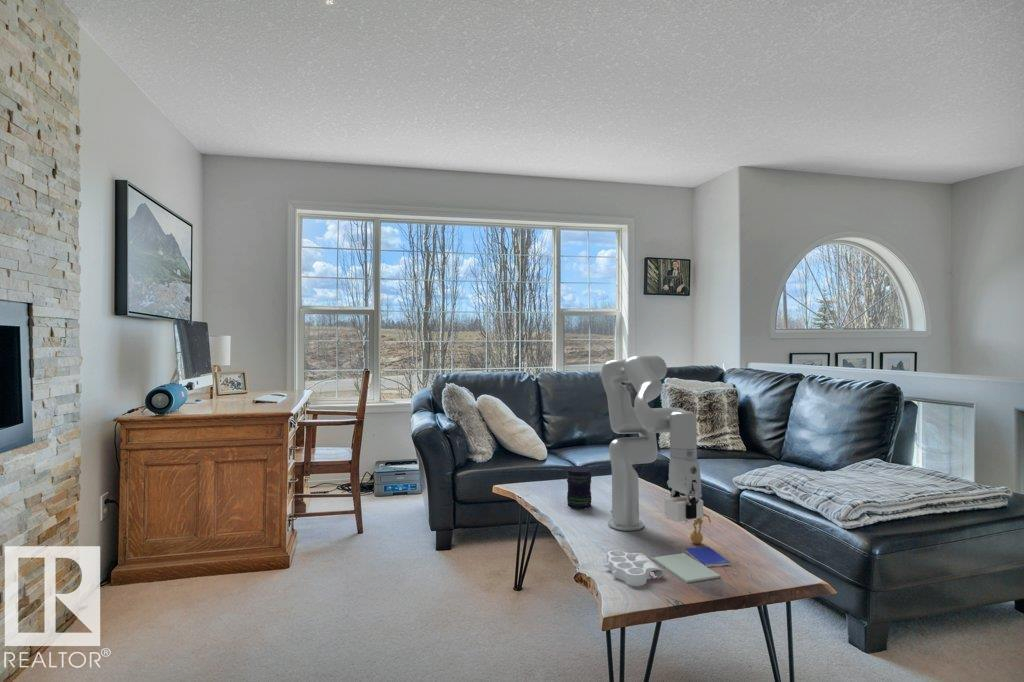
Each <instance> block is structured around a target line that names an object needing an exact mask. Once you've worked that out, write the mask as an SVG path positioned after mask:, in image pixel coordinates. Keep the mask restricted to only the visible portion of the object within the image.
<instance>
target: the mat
mask: <svg viewBox="0 0 1024 682" xmlns="http://www.w3.org/2000/svg"><path fill="white" fill-rule="evenodd" d="M652 560H653V561H654V560H655V563H657V562H658V563H657V564H659V565H660V564H661V565H660V566H661V567H663V568H664V567H665V568H664V569H666V570H667V571H669V572H670V573H672V574H674V575H675V576H676V577H678V579H680V580H682V581H683V582H685V583H686V584H688V583H694V582H695V583H696V582H700V581H708V580H713V579H718V578H719V579H720V578H721V575H720V574H719V573H717V572H715V571H714V570H712V569H711V568H710V567H706V566H704V565H703V564H701V563H699V562H698V561H697V560H696V559H694V558H693V557H692V556H689V554H687V553H684V552H680V553H675V554H669V555H663V556H662V555H660V556H655V557H652Z"/></svg>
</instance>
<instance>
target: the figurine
mask: <svg viewBox="0 0 1024 682" xmlns="http://www.w3.org/2000/svg"><path fill="white" fill-rule="evenodd" d="M703 517H706V518H707V519H708V522H709V523H710V524H711V523H712V521H711V519H710V516H709V515H707V514H706V513H705V512H703ZM693 520H694V522H692V523H693V524H692V525H693V528H694V530H693V531H692V532H691V533H690V536H689V538H690V541H691V542H692V543H693V544H697V545H698V544H699V545H700V544H701V543H702V542H703V540H704V537H703V534H702V533H701V530H702V524H703V522H704V521H703V518H698V519H693ZM688 521H689V520H685V521H684V522H685V524H686V523H687V522H688ZM696 525H698V528H699V529H698V530H697V526H696Z"/></svg>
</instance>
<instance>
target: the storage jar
mask: <svg viewBox="0 0 1024 682" xmlns="http://www.w3.org/2000/svg"><path fill="white" fill-rule="evenodd" d="M566 471H567V472H566V481H567V492H566V493H567V495H566V500H567V501H566V502H567V504H566V505H568V506H569V507H571V508H570V509H572V508H575V509H574V510H586V509H585V508H588V509H590V508H591V507H592V492H591V485H592V469H591V468H590V467H588V466H582V465H581V466H580V465H579V466H578V465H577V466H570V467H567V468H566ZM568 506H567V507H568ZM569 507H568V508H569ZM589 507H590V508H589Z"/></svg>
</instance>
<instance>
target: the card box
mask: <svg viewBox="0 0 1024 682" xmlns="http://www.w3.org/2000/svg"><path fill="white" fill-rule="evenodd" d="M691 498H692V496H690V500H691ZM686 505H688V504H687V500H686V496H685V495H681V496H680V497H673V498H671V497H666V498H664V516H665V517H668V518H670V519H672V520H673V521H675V522H679V523H680V522H686V520H688V521H692V520H697V519H698V518H702V519H704V516H703V513H704V500H703V499H701V498H700V499H699V501H698V504H697V505H696V509H697V517H696V518H693V519H687V518H686Z"/></svg>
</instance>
